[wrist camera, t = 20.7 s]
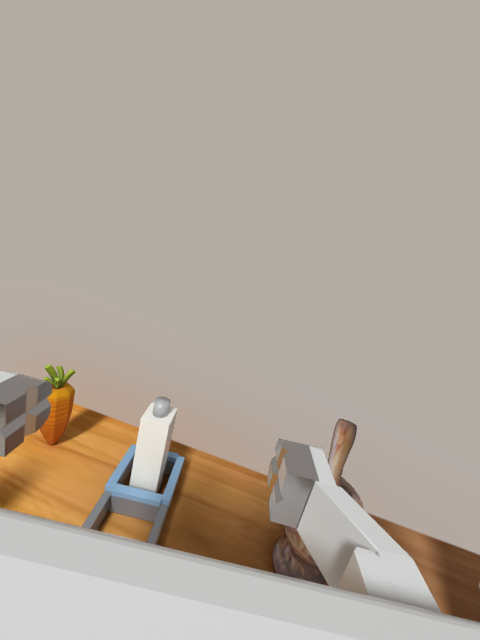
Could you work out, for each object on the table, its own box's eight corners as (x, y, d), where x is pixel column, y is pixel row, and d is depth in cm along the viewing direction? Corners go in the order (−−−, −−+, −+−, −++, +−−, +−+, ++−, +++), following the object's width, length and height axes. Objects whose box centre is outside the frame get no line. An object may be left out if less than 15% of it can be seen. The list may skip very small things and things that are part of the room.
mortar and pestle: (267, 507, 43) (303, 402, 38) (318, 522, 43) (360, 418, 38) (268, 594, 32) (319, 461, 27) (337, 615, 32) (401, 484, 27)
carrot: (76, 440, 47) (84, 364, 43) (51, 459, 42) (58, 376, 39) (52, 430, 48) (59, 355, 44) (25, 449, 43) (30, 366, 39)
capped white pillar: (162, 482, 43) (180, 397, 39) (153, 504, 39) (172, 412, 35) (138, 476, 43) (154, 390, 39) (127, 497, 39) (143, 405, 35)
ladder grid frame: (181, 472, 46) (185, 455, 45) (99, 720, 21) (104, 692, 20) (130, 460, 46) (133, 442, 45) (-12, 694, 21) (-12, 664, 20)
